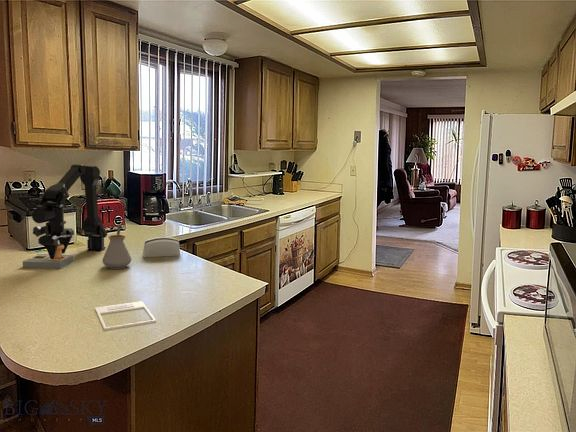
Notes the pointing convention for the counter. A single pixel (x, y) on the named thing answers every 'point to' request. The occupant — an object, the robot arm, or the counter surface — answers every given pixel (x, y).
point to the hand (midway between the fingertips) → (57, 256)
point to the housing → (47, 261)
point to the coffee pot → (116, 252)
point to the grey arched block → (161, 247)
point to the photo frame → (123, 308)
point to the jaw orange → (59, 251)
